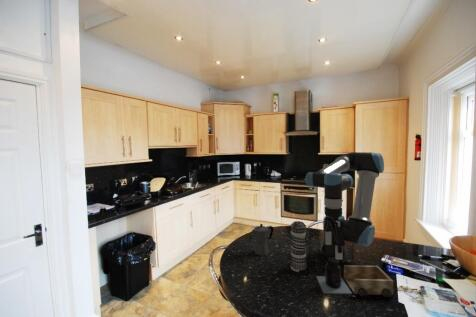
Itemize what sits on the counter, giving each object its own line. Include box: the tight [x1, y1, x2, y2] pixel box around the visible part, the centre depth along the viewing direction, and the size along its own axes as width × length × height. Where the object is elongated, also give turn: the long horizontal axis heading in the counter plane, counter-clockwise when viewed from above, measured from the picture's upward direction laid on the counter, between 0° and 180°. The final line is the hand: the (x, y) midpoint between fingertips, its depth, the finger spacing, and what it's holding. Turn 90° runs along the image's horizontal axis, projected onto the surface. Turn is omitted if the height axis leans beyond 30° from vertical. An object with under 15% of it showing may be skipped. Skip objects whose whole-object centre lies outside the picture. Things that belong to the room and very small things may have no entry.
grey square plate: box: [315, 275, 353, 295], centre depth 104 cm, size 1×12×12 cm
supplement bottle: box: [324, 257, 342, 288], centre depth 103 cm, size 7×7×12 cm
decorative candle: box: [289, 220, 308, 273], centre depth 119 cm, size 9×9×25 cm
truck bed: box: [343, 264, 394, 298], centre depth 102 cm, size 16×15×7 cm
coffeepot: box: [251, 223, 275, 256], centre depth 138 cm, size 15×9×18 cm, turn 113°
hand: (333, 251), depth 103 cm, fingers open, 13 cm apart
